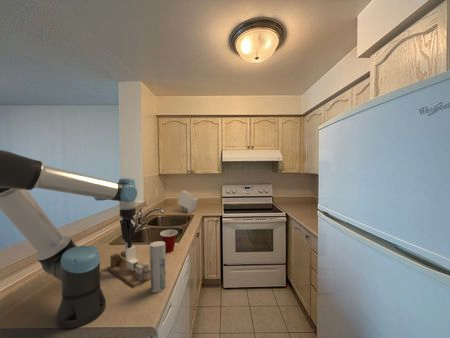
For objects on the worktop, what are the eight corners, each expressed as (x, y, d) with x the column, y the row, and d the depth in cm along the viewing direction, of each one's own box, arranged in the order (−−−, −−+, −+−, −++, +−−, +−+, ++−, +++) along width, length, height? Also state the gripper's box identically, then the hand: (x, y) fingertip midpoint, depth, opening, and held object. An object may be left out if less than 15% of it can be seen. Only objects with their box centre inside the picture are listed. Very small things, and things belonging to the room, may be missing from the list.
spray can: (152, 284, 96) (152, 241, 95) (167, 284, 96) (166, 240, 96) (148, 293, 89) (147, 246, 89) (164, 292, 90) (163, 246, 89)
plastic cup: (159, 255, 128) (159, 235, 128) (160, 248, 138) (160, 230, 138) (178, 252, 131) (177, 233, 130) (177, 246, 141) (177, 228, 141)
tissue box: (183, 207, 261) (188, 188, 258) (194, 212, 257) (200, 193, 254) (174, 211, 241) (181, 191, 238) (186, 216, 237) (193, 196, 234)
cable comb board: (134, 288, 93) (134, 272, 93) (107, 269, 110) (107, 256, 110) (158, 277, 102) (158, 262, 102) (129, 261, 120) (129, 248, 120)
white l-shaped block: (130, 271, 102) (130, 251, 102) (125, 268, 105) (125, 249, 105) (140, 267, 106) (140, 248, 106) (135, 264, 109) (134, 246, 109)
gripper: (141, 208, 107) (142, 254, 107) (128, 205, 115) (129, 248, 115) (126, 210, 101) (127, 259, 101) (114, 207, 109) (115, 253, 109)
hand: (128, 253), depth 108 cm, fingers closed
